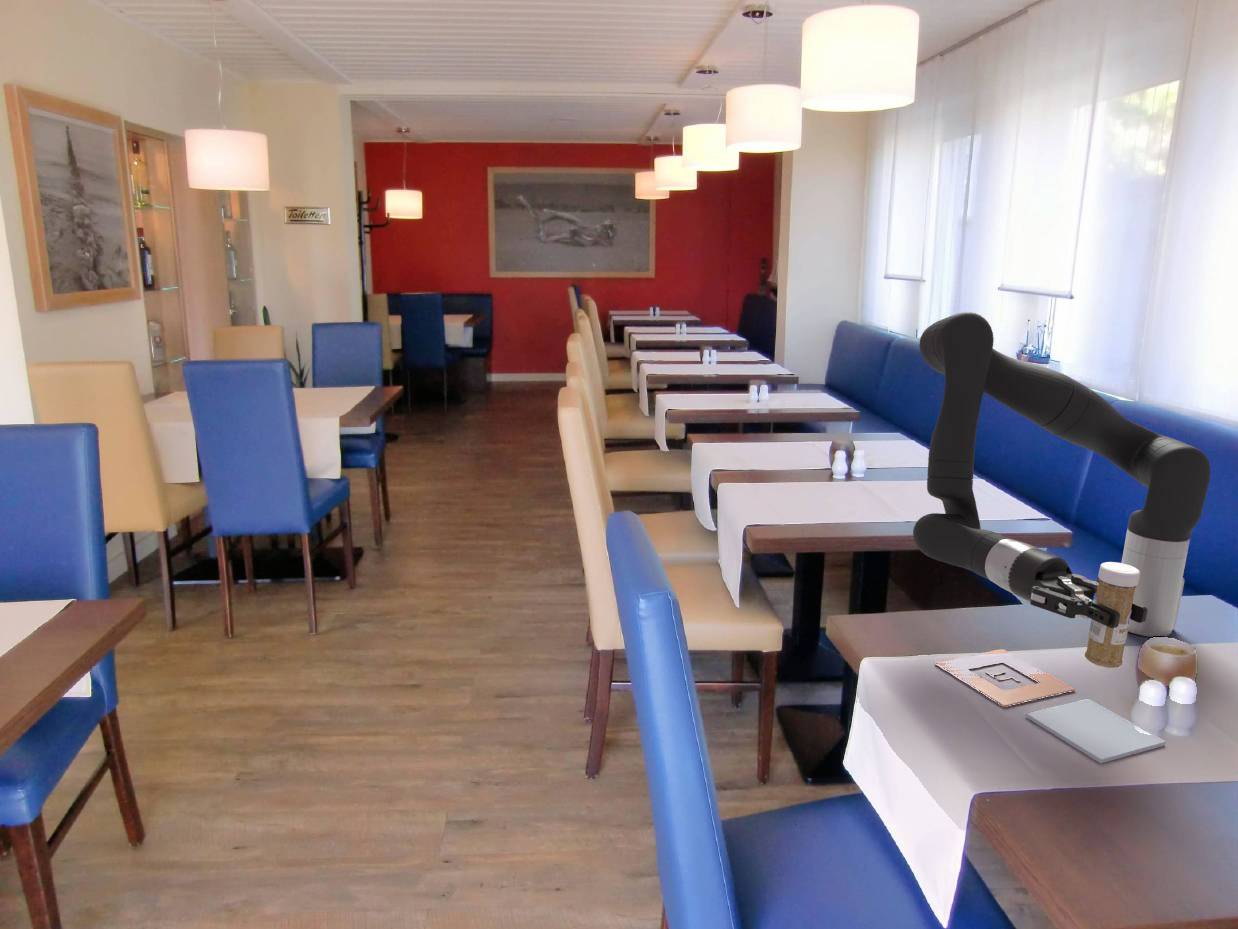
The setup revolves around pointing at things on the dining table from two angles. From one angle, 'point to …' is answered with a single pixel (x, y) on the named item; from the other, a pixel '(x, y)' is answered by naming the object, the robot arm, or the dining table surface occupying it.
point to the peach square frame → (1017, 695)
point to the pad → (1094, 730)
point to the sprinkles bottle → (1118, 596)
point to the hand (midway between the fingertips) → (1130, 618)
